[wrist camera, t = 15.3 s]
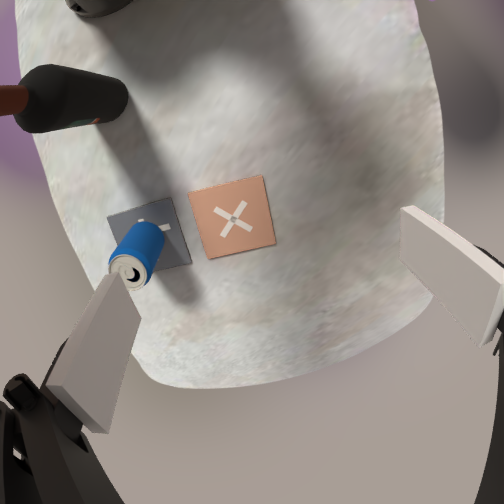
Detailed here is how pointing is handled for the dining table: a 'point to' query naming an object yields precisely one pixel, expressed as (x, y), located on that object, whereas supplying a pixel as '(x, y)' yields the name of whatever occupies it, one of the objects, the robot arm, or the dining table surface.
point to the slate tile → (165, 220)
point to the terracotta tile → (233, 217)
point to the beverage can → (137, 254)
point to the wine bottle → (62, 99)
